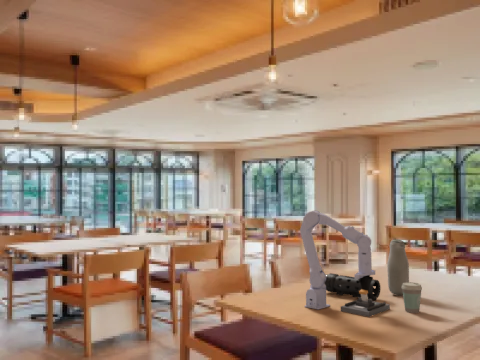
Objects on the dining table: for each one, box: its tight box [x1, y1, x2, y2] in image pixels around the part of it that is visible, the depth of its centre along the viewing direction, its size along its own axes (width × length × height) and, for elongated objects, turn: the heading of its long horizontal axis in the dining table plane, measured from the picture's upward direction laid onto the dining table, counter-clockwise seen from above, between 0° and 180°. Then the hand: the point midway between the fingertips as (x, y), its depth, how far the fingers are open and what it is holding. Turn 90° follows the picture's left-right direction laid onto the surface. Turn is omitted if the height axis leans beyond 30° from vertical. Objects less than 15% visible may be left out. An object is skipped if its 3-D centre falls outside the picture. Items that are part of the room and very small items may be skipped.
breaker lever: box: [359, 289, 368, 301], centre depth 204 cm, size 2×3×4 cm, turn 44°
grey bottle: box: [386, 239, 410, 296], centre depth 232 cm, size 10×10×28 cm
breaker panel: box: [340, 297, 391, 318], centre depth 204 cm, size 18×14×5 cm
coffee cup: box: [402, 281, 423, 314], centre depth 201 cm, size 8×8×12 cm
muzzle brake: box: [324, 272, 381, 301], centre depth 230 cm, size 10×28×10 cm, turn 48°
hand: (365, 292), depth 205 cm, fingers closed
